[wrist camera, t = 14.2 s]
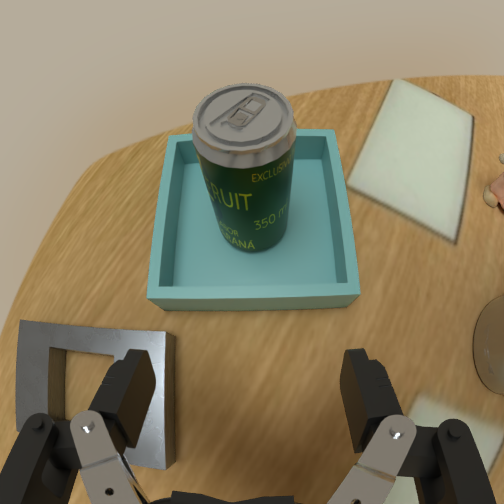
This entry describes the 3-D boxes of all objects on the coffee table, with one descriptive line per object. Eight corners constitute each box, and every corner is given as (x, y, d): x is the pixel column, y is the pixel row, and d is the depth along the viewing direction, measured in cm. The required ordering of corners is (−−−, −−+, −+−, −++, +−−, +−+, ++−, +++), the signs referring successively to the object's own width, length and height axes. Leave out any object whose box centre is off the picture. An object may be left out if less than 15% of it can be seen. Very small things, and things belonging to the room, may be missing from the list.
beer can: (245, 184, 27) (232, 70, 16) (300, 215, 26) (318, 104, 15) (206, 232, 26) (165, 128, 14) (262, 268, 24) (256, 174, 13)
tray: (327, 158, 29) (333, 129, 25) (346, 307, 24) (360, 294, 20) (179, 163, 29) (169, 135, 26) (164, 310, 24) (146, 298, 20)
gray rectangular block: (175, 336, 23) (165, 331, 21) (175, 461, 20) (165, 470, 17) (36, 325, 24) (20, 319, 22) (33, 429, 20) (16, 431, 18)
